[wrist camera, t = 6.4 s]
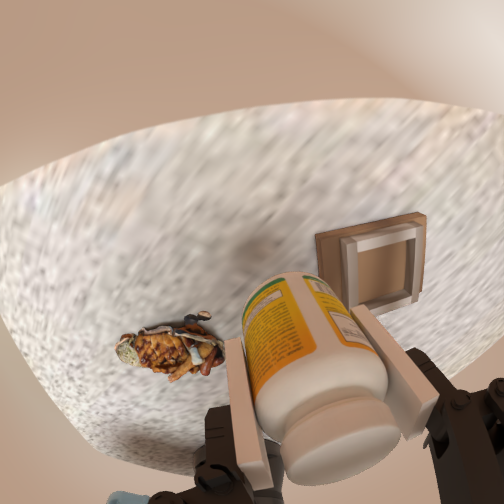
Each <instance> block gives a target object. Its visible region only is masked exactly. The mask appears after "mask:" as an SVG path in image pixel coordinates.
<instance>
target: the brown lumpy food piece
mask: <svg viewBox="0 0 504 504" xmlns="http://www.w3.org/2000/svg"><path fill="white" fill-rule="evenodd" d="M211 317H212V316H211V314H210V313H208V312H206V311H201V312H199V313H198V315H197V316H195V315H193V314H189V315H187V316H185V318H184V321H185V324H186V326H185V327H183V328H179V329H176V328H173V327H170V326H159V327H157V328H156V329H153V330H150V331H146V330H145V328H144V327H143V328H142V329H141V330H140V331H139V332H138V334H139V335H138V336H137V335H135V334H133V333H131V334H124V335H122V336H121V339H120V342H117V343H116V345H115V351H116V353H117V355H118V357H119V358H120V360H121V361H123V362H125V363H130V365H132V366H138V367H142V368H150V369H152V370H153V372H154V373H155V372H162V373H165V374H169V373H170V374H171V375H169V376H168V381H170V383H171V382H173V381H175V380H178V379H179V378H180V377H181V376H182V375H184V374H186V373H187V372H188V371H189V372H191V373H192V374H194V373H197V372H198V371H199V370H200V372H201V374H202V375H205V376H208V375H209V374H210V370H211V368H212V367H216V366H218V365H220V364H222V363H223V362H224V361H225V358H226V355H225V351H224V350H223V342H221V341H220V340H219V341H218V340H216V338H215V337H213V336H212V335H210V334H207V332H205V330H202V327H199V326H198V325H197V322H198V320H203V321H205V320H209V319H211ZM128 340H129V341H128Z"/></svg>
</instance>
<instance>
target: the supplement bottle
mask: <svg viewBox="0 0 504 504" xmlns="http://www.w3.org/2000/svg"><path fill="white" fill-rule="evenodd" d="M242 328H243V335H244V343H245V349H246V357H247V363H248V369H249V376H250V382H251V390H252V396H253V403H254V409H255V415H256V418H257V421H258V424H259V425H260V427H261V429H262V430H263V431H264V432H265V433H266V434H267V435H268V436H269V437H271V438H272V439H274V440H275V441H278V442H280V443H282V445H281V447H280V454H281V457H282V460H283V463H284V467H285V471H286V474H287V477H288V479H289V480H291V481H292V482H293V483H296V484H298V485H304V486H316V485H324V484H330V483H334V482H338V481H341V480H344V479H347V478H350V477H352V476H355V475H357V474H359V473H361V472H363V471H365V470H367V469H369V468H371V467H372V466H374V465H375V464H377V463H378V462H380V461H381V460H382V459H384V458H385V457H386V456H387V455H388V454H389V453H390V452H391V451H392V450H393V449H394V448H395V447H396V445H397V444H398V442H399V440H400V437H401V431H400V429H399V426H398V425H397V423H396V421H395V419H394V417H393V415H392V413H391V411H390V409H389V407H388V406H387V405H386V404H384V403H383V401H384V399H385V396H386V393H387V389H388V375H387V371H386V368H385V366H384V364H383V362H382V361H381V359H380V357H379V356H378V354H377V353H376V351H375V350H374V348H373V347H372V345H371V344H370V342H369V341H368V339H367V338H366V337H365V335H364V334H363V332H362V331H361V329H360V328H359V327H358V325H357V324H356V323H355V321H354V320H353V318H352V317H351V316H350V314H349V313H348V311H347V310H346V308H345V307H344V305H343V304H342V303H341V301H340V300H339V299H338V297H337V296H336V294H335V293H334V292H333V290H332V289H331V288H330V287H329V285H328V284H327V283H326V282H324V281H323V280H322V279H320V278H319V277H317V276H315V275H313V274H310V273H305V272H286V273H282V274H278V275H276V276H273V277H271V278H270V279H268V280H266V281H265V282H263V283H262V284H261V285H260V286H258V287H257V288H256V289H255V290H254V291H253V292H252V293H251V295H250V296H249V297H248V299H247V301H246V303H245V305H244V308H243V312H242Z"/></svg>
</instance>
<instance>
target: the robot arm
mask: <svg viewBox="0 0 504 504" xmlns="http://www.w3.org/2000/svg"><path fill="white" fill-rule="evenodd" d="M350 316H351V317H352V318H353V320H354V321H355V323H356V324H357V325H358V327H359V328H360V329H361V331H362V332H363V334H364V335H365V337H366V338H367V339H368V341H369V342H370V344H371V345H372V347H373V348H374V350H375V351H376V353H377V354H378V356H379V357H380V359H381V361H382V362H383V364H384V366H385V368H386V371H387V375H388V389H387V393H386V396H385V399H384V401H383V403H384V404H386V405H387V406H388V407H389V409H390V411H391V413H392V415H393V417H394V419H395V421H396V423H397V425H398V426H399V429H400V431H401V433H402V434H403V436H404V438H405V439H406V441H409V440H411V439H413V438H415V437H417V436H418V435H420V434H422V433H423V431H424V429H425V427H426V428H427V429H428V431H429V434H428V436H427V438H426V439H425V442H424V445H423V449H425V448H426V447H427V445H428V443H429V447H430V451H431V455H432V459H433V464H434V469H435V473H436V478H437V483H438V488H439V494H440V500H441V504H504V378H497V379H494V380H493V381H492V382H491V383H490V385H489V387H488V388H487V389H484V390H481V391H477V392H474V393H469V392H467V391H465V390H457V389H456V388H455V387H454V386H453V385H452V384H451V382H450V381H449V380H448V379H447V378H446V377H445V375H444V374H443V373H442V372H441V371H440V370H439V369H438V367H436V365H435V364H434V363H433V362H432V361H431V359H430V358H429V357H428V356H427V355H426V354H425V353H424V352H422V351H421V350H419V349H417V348H415V347H414V348H412V349H410V350H408V351H404V350H403V349H402V348H401V347H400V345H399V344H398V343H397V342H396V341H395V339H394V338H393V337H392V336H391V335H390V334H389V332H388V331H387V330H386V329H385V328H384V327H383V326H382V324H381V323H380V322H379V321H378V320H377V319H376V317H375V316H374V315H373V314H372V313H371V312H370V311H369V310H368V308H367V307H366V306H365V305H364V304H362V305H359V306H356V307H353V308H350ZM224 344H225V355H226V366H227V377H228V387H229V397H230V405H227V406H221V407H215V408H209V410H208V412H207V415H206V417H205V439H206V440H205V446H203V447H201V448H200V449H198V450H197V451H196V452H195V454H194V456H193V468H194V472H195V476H194V481H195V485H196V487H194V488H192V489H189V490H186V491H183V492H180V493H177V494H175V493H173V492H169V491H163V492H158V493H156V494H155V495H153V496H152V497H149V496H147V495H143V496H142V495H137V494H133V493H128V492H124V491H116V492H113V493H112V494H111V495H110V496H109V498H108V500H107V503H106V504H284V501H283V497H282V492H281V489H282V482H283V477H284V471H285V467H284V463H283V460H282V457H281V454H280V447H281V446H279V445H278V444H276V443H274V442H272V441H268V440H264V438H263V433H262V429H261V427H260V425H259V424H258V421H257V418H256V415H255V409H254V403H253V396H252V390H251V382H250V376H249V369H248V363H247V360H246V356H245V353H244V349H243V346H242V342H241V338H240V337H238V338H233V339H229V340H224ZM498 419H499V420H498Z"/></svg>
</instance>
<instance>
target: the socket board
mask: <svg viewBox="0 0 504 504" xmlns="http://www.w3.org/2000/svg"><path fill="white" fill-rule="evenodd" d="M315 237H316V246H317V256H318V266H319V276H320V279H322V280H323V281H324V282H326V283H327V284H328V285H329V287H330V288H331V289H332V290H333V292H334V293H335V294H336V296H337V297H338V299H339V300H340V301H341V303H342V304H343V305H344V307H345V308H346V310H347V311H348V313H349V314H350V308H353V307H356V306H359V305H362V304H364V305H365V306H366V307H367V308H368V310H369V311H370V312H371V313H372V314H373V315H374V316H378V315H381V314H384V313H387V312H390V311H392V310H395V309H398V308H401V307H403V306H406V305H409V304H412V303H414V302H417V301H418V297H419V293H420V292H422V284H423V274H424V263H425V247H426V215H424V214H421V213H419V212H416V213H411V214H407V215H402V216H398V217H393V218H388V219H384V220H379V221H375V222H370V223H365V224H361V225H356V226H352V227H347V228H342V229H338V230H333V231H329V232H324V233H320V234H315Z"/></svg>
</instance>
